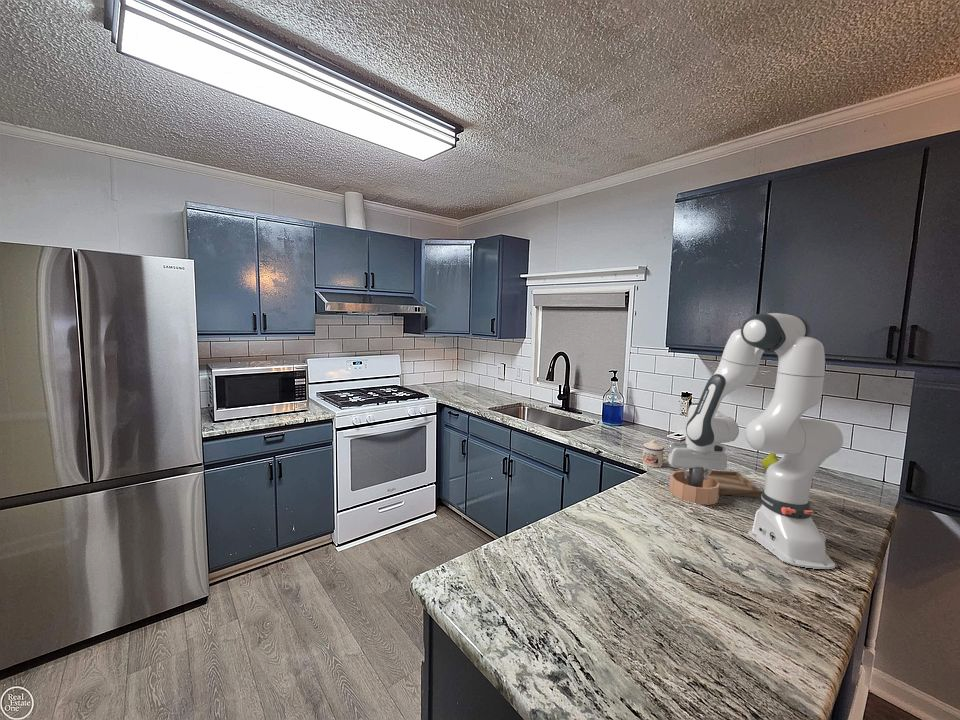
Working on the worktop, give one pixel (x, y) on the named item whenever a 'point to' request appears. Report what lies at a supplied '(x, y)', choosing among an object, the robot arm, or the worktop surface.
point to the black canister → (696, 477)
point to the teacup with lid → (653, 454)
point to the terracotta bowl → (694, 489)
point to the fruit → (769, 460)
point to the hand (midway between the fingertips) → (695, 478)
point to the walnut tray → (734, 484)
